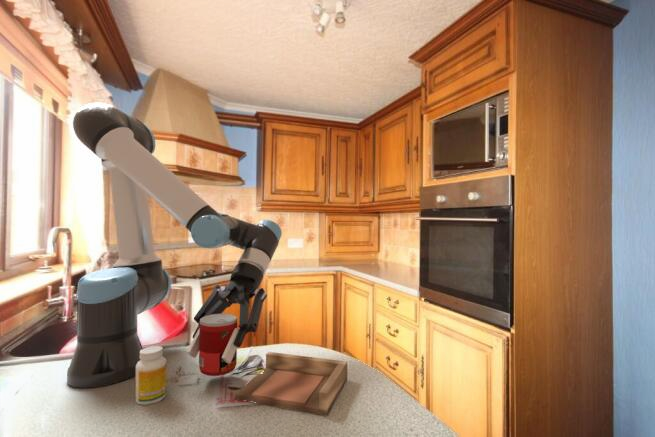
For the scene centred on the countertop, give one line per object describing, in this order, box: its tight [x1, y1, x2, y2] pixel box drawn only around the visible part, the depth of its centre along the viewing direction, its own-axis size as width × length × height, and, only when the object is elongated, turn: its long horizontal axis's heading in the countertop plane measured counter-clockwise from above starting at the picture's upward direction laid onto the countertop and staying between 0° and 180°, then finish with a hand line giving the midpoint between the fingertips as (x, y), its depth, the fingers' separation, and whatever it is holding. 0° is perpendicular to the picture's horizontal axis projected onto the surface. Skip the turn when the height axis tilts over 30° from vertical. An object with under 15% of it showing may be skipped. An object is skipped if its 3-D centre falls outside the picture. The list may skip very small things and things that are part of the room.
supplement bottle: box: [134, 345, 167, 406], centre depth 65 cm, size 5×5×10 cm
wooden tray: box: [234, 351, 348, 417], centre depth 68 cm, size 19×14×4 cm
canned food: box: [198, 313, 238, 377], centre depth 72 cm, size 8×8×11 cm
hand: (208, 357), depth 69 cm, fingers closed on canned food, 8 cm apart
